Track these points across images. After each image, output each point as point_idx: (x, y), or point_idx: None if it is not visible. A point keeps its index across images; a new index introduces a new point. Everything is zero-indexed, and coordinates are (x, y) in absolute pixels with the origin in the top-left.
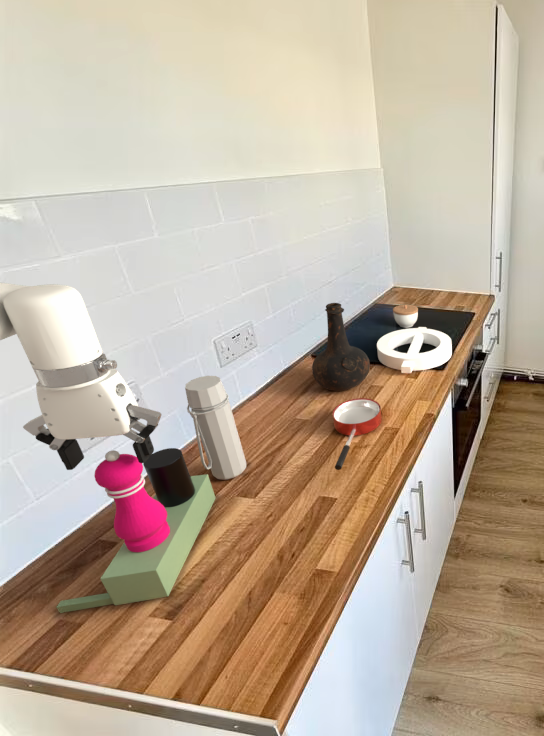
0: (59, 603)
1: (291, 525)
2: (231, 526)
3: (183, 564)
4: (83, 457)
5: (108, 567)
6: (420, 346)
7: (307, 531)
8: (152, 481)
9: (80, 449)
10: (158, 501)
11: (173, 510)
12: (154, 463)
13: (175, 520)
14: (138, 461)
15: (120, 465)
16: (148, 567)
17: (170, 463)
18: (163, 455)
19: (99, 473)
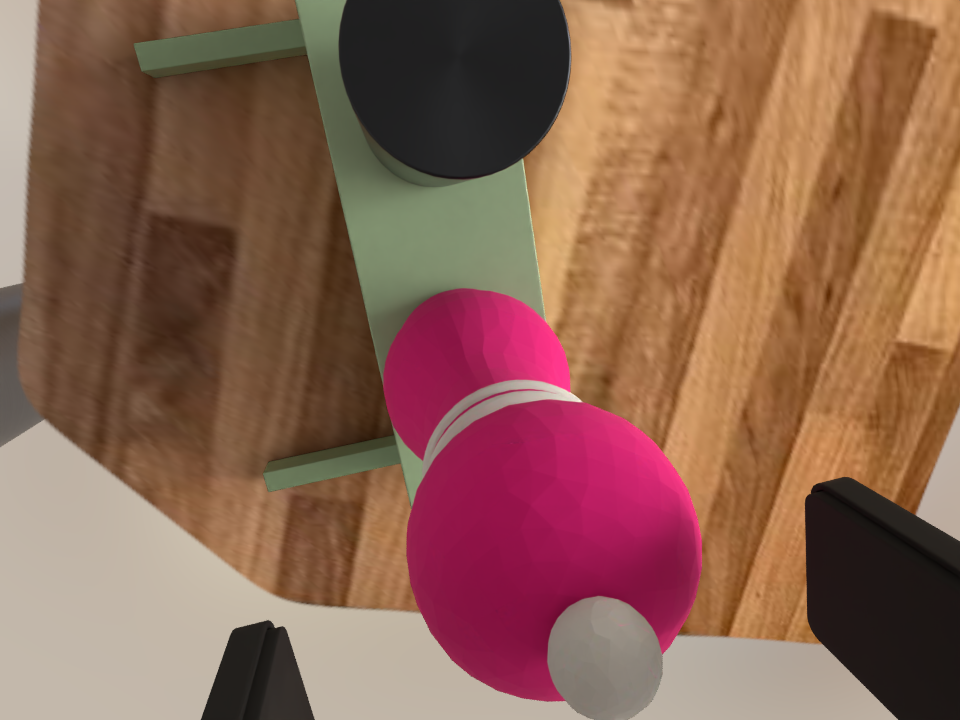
0: (267, 481)
1: (799, 169)
2: (599, 165)
3: None
4: (284, 635)
5: (407, 476)
6: None
7: (854, 199)
8: (410, 174)
9: (265, 714)
10: (533, 325)
11: (468, 207)
12: (440, 125)
13: (509, 265)
14: (691, 504)
15: (662, 649)
16: None
17: (549, 129)
18: (446, 26)
19: (523, 697)
